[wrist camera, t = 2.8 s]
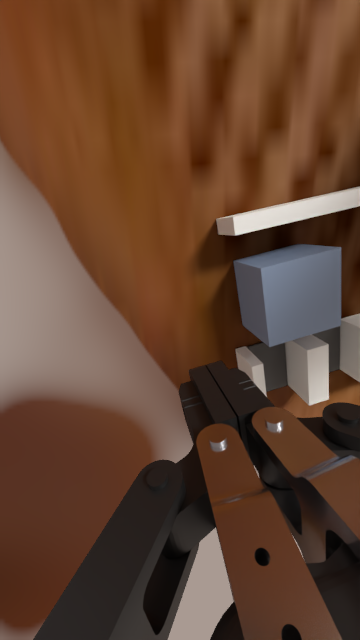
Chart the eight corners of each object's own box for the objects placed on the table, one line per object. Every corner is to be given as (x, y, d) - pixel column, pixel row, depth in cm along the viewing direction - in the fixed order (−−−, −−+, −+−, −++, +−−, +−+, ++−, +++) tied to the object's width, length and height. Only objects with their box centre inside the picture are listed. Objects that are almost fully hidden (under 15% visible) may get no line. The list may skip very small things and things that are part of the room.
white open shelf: (433, 169, 23) (484, 159, 20) (411, 346, 29) (447, 360, 26) (216, 218, 21) (232, 216, 17) (242, 398, 27) (258, 421, 24)
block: (297, 243, 23) (341, 247, 18) (301, 307, 25) (341, 325, 20) (232, 260, 22) (260, 268, 18) (242, 324, 24) (269, 347, 20)
